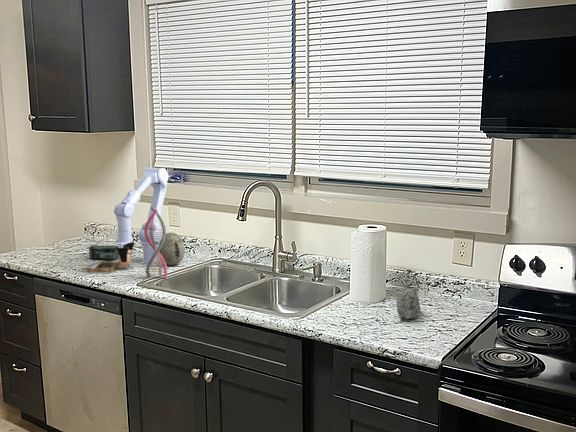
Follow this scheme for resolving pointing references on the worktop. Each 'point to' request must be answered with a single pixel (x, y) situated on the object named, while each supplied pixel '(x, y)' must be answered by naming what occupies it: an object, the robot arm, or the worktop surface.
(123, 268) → the coaster
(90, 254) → the sculpture
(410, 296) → the rock
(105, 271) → the cold frame
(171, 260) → the decorative egg
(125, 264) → the pot
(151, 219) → the dna model
